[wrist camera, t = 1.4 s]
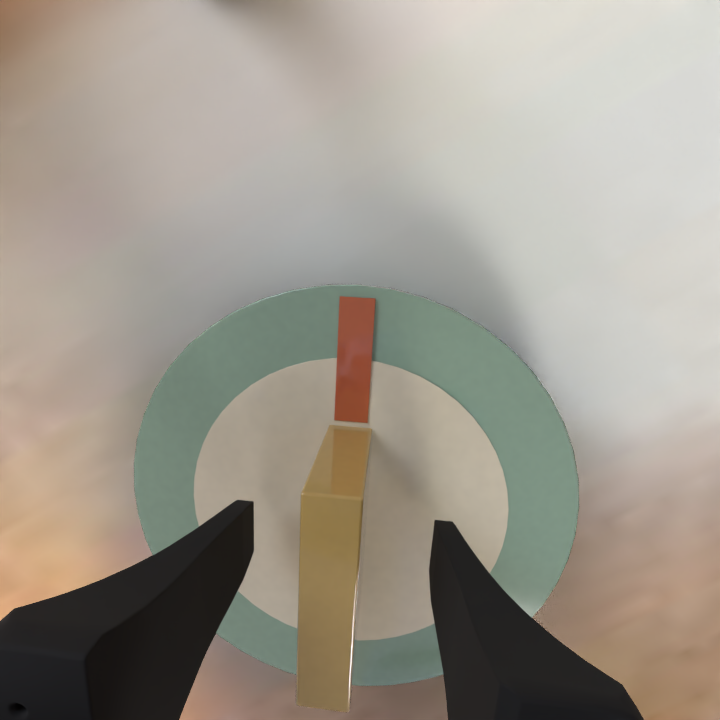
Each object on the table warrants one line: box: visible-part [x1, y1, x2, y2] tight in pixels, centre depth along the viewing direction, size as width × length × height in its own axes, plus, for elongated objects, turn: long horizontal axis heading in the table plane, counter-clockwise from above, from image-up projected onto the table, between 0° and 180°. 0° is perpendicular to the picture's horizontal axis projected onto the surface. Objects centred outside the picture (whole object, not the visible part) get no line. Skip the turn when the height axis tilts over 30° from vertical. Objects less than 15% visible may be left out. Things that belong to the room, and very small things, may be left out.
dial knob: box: [134, 284, 579, 713], centre depth 13 cm, size 17×17×5 cm
